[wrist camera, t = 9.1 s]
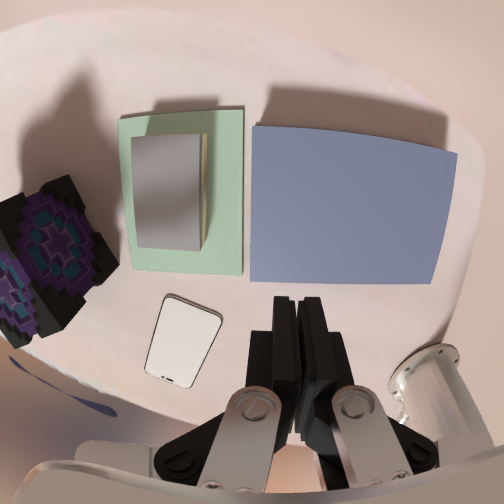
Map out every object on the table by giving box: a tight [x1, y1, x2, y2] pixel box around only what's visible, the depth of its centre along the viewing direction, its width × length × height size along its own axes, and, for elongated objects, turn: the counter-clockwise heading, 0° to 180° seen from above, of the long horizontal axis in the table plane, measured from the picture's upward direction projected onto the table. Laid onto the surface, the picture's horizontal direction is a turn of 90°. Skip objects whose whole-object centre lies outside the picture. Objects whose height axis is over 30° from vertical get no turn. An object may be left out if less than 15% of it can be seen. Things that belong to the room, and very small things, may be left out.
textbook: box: [250, 126, 457, 284], centre depth 24 cm, size 13×18×4 cm
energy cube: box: [0, 174, 119, 349], centre depth 24 cm, size 12×12×12 cm
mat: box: [118, 110, 243, 276], centre depth 26 cm, size 16×12×1 cm
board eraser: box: [131, 134, 207, 252], centre depth 24 cm, size 10×6×3 cm, turn 177°
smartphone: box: [144, 295, 223, 388], centre depth 34 cm, size 7×1×15 cm
